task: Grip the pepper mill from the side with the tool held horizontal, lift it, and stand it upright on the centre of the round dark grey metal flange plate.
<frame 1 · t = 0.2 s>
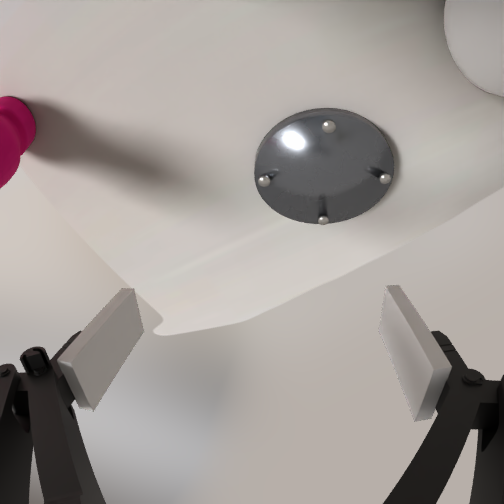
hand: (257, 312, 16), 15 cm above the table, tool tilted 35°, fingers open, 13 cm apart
flange plate: (324, 168, 27), on the table
flower in vase: (490, 13, 13), on the table
pepper mill: (13, 121, 22), on the table
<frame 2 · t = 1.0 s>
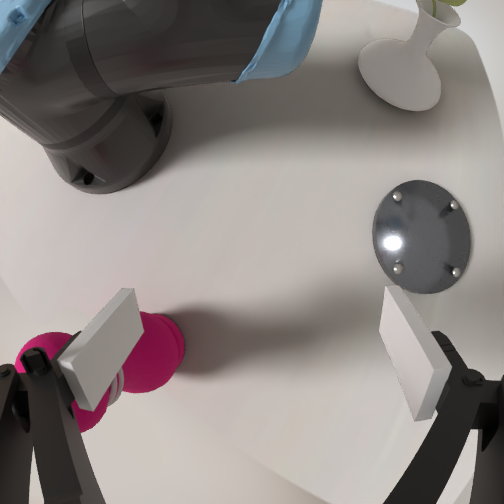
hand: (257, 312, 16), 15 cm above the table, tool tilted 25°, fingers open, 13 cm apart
flange plate: (422, 237, 31), on the table
flower in vase: (390, 79, 34), on the table
pepper mill: (156, 344, 30), on the table, touching gripper
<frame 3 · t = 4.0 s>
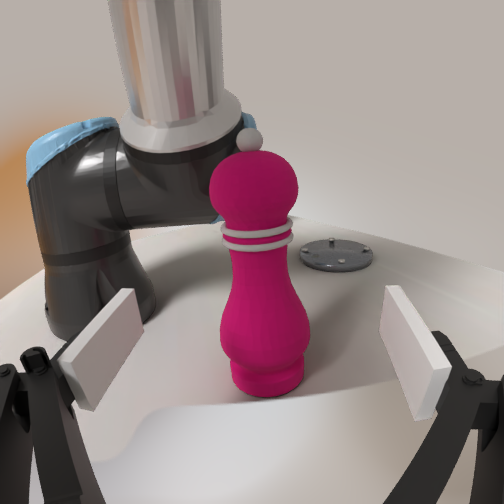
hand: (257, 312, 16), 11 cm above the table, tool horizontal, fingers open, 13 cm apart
flange plate: (336, 257, 52), on the table
pepper mill: (268, 375, 27), on the table
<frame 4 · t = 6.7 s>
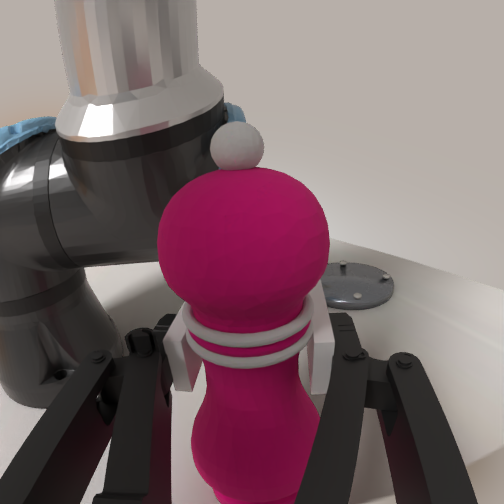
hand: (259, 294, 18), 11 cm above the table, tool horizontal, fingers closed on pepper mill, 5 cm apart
flange plate: (348, 287, 42), on the table
pepper mill: (261, 481, 17), on the table, touching gripper
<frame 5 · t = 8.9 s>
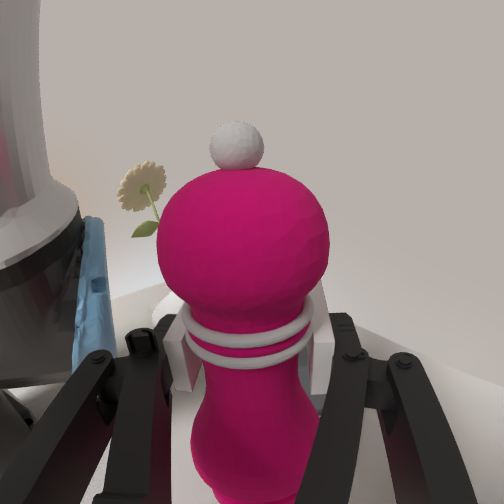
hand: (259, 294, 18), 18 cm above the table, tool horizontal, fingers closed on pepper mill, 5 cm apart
flange plate: (291, 382, 35), on the table
flower in vase: (184, 326, 49), on the table
pepper mill: (260, 482, 17), point 7 cm above the table, touching gripper
when the fingers open (14 cm above the table, at t = 11.5 s): pepper mill drops 1 cm, resting on flange plate.
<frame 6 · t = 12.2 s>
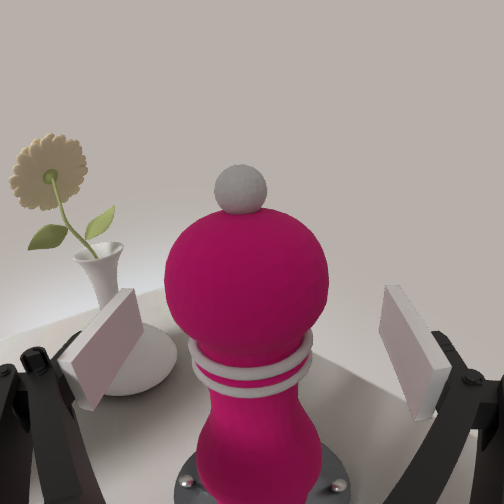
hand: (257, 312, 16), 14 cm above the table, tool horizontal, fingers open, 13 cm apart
flange plate: (262, 496, 18), on the table
flower in vase: (123, 373, 31), on the table
pepper mill: (261, 491, 17), point 1 cm above the table, touching flange plate
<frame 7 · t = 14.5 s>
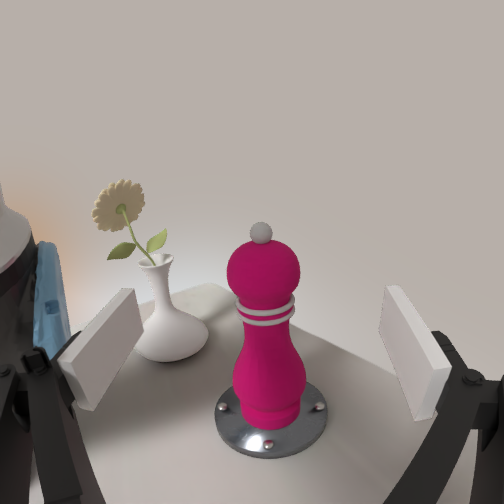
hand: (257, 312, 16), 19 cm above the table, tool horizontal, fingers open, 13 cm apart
flange plate: (271, 416, 32), on the table
flower in vase: (167, 348, 46), on the table
pepper mill: (270, 410, 31), point 1 cm above the table, touching flange plate
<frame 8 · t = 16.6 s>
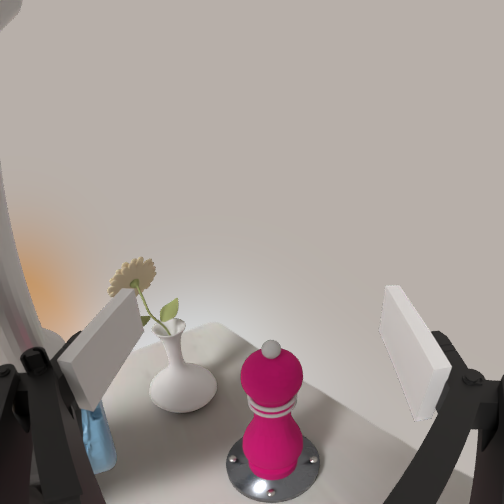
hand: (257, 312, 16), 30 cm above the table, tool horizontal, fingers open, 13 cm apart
flange plate: (273, 465, 35), on the table
flower in vase: (180, 396, 49), on the table
pepper mill: (273, 462, 35), point 1 cm above the table, touching flange plate
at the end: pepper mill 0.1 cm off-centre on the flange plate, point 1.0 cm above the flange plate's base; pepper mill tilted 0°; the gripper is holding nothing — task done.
